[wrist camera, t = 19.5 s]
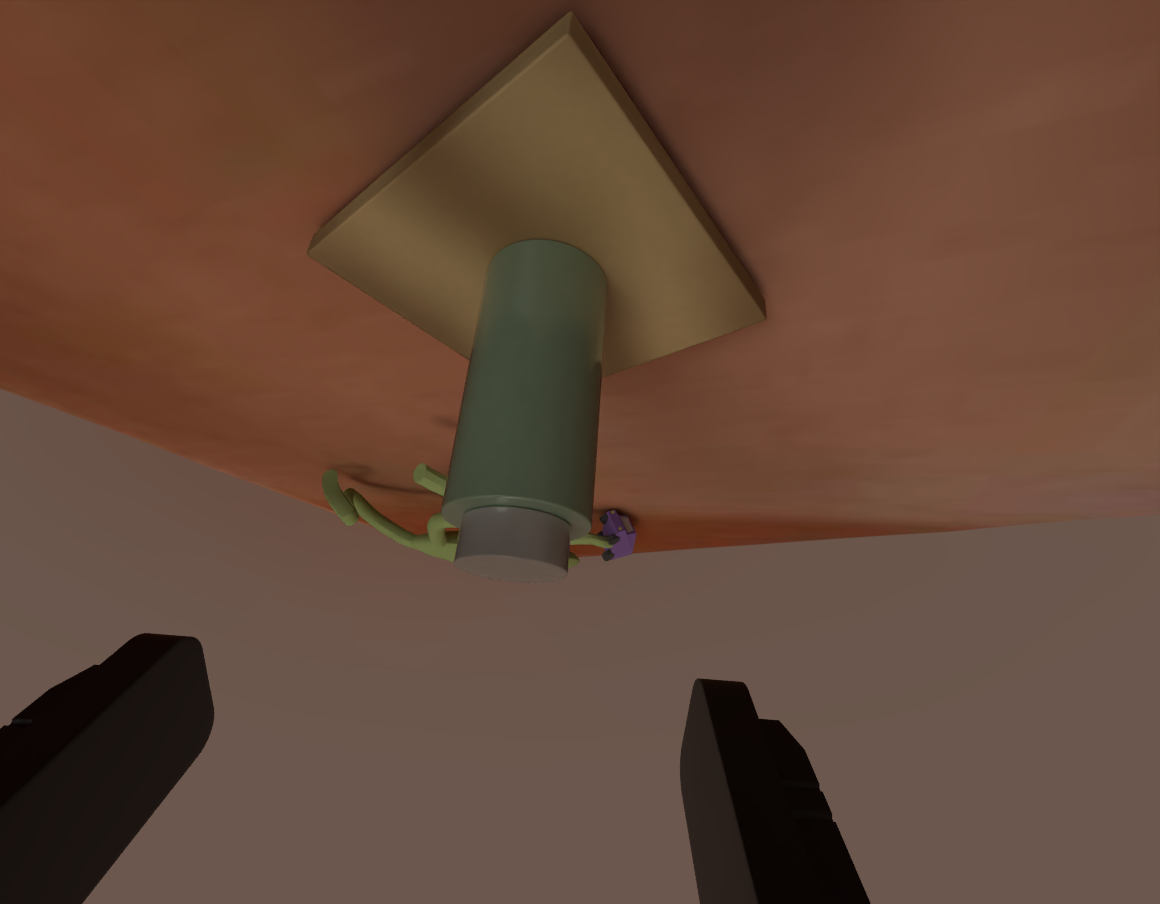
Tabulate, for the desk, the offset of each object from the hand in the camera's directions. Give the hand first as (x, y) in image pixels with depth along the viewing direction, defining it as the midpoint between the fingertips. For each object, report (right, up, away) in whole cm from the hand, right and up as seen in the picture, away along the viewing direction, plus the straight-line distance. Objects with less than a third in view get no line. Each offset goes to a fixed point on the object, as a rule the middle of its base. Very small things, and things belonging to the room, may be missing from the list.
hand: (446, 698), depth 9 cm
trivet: (+1, +11, +12) cm, 16 cm away
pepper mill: (+1, +10, +11) cm, 15 cm away
